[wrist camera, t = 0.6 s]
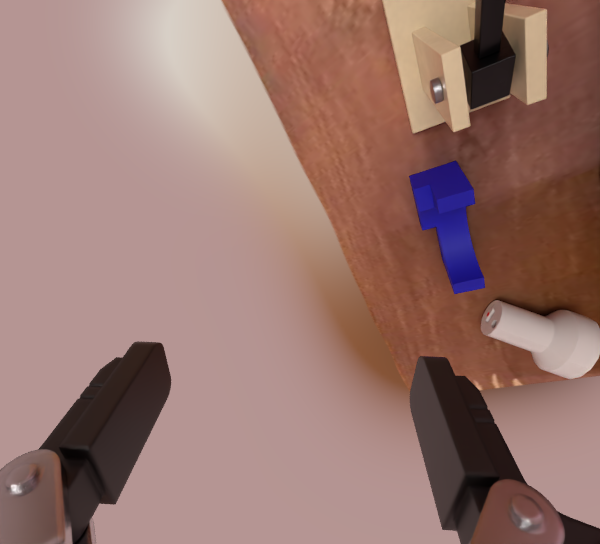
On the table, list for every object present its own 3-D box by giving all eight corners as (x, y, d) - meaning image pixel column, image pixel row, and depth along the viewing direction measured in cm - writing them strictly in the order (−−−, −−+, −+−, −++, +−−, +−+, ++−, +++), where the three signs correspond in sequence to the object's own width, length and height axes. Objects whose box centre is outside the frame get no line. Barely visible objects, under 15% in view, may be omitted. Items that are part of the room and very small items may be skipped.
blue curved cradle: (409, 175, 35) (418, 205, 31) (455, 160, 34) (473, 189, 29) (429, 262, 42) (440, 297, 37) (468, 253, 40) (485, 287, 36)
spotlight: (547, 351, 48) (572, 394, 41) (468, 322, 49) (479, 359, 42) (585, 306, 44) (620, 345, 37) (498, 276, 45) (516, 309, 38)
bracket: (379, -9, 26) (397, -3, 17) (495, -70, 23) (589, -101, 14) (411, 129, 32) (437, 187, 23) (505, 93, 30) (575, 143, 21)
